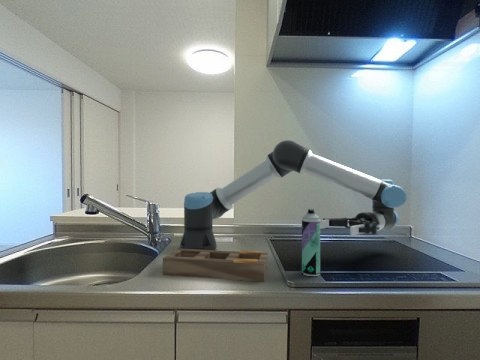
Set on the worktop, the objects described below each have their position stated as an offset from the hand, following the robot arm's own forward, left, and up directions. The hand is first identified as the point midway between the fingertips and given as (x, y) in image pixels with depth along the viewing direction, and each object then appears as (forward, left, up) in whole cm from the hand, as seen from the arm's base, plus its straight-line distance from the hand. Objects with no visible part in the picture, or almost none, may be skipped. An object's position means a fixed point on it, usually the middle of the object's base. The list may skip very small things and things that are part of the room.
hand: (332, 227), depth 90 cm
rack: (+10, -36, -13) cm, 40 cm away
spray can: (+7, -7, -13) cm, 17 cm away
